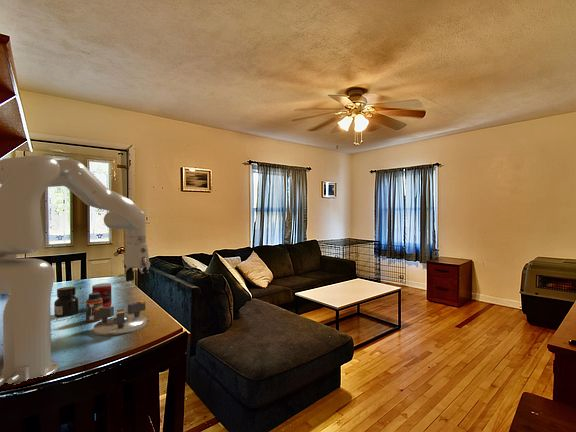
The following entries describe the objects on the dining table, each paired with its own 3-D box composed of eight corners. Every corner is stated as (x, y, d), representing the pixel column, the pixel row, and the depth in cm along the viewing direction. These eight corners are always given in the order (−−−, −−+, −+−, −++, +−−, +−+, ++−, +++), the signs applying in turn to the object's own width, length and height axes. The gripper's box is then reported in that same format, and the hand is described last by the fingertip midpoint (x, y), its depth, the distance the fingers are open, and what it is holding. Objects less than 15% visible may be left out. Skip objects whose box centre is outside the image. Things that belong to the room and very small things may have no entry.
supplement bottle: (94, 322, 120) (94, 295, 120) (82, 322, 121) (81, 295, 122) (106, 318, 126) (105, 291, 126) (94, 317, 127) (94, 291, 127)
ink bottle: (54, 314, 134) (54, 288, 134) (78, 310, 139) (77, 284, 140) (54, 319, 126) (54, 291, 126) (79, 314, 132) (78, 288, 132)
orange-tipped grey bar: (114, 320, 116) (113, 306, 116) (110, 322, 113) (109, 307, 113) (99, 320, 116) (98, 306, 116) (94, 322, 113) (94, 308, 113)
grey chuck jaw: (117, 324, 111) (116, 309, 111) (124, 323, 112) (124, 308, 112) (116, 329, 106) (116, 313, 106) (124, 328, 107) (124, 312, 107)
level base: (137, 333, 107) (137, 323, 107) (83, 338, 104) (83, 327, 104) (152, 317, 125) (152, 308, 125) (106, 321, 122) (106, 311, 122)
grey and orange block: (131, 319, 117) (131, 304, 117) (128, 318, 118) (127, 304, 118) (145, 314, 122) (145, 301, 122) (141, 313, 123) (141, 300, 123)
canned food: (94, 306, 145) (93, 284, 145) (112, 303, 149) (112, 282, 149) (91, 310, 138) (90, 287, 139) (110, 307, 142) (110, 285, 142)
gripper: (157, 240, 119) (158, 281, 119) (132, 239, 128) (133, 278, 128) (139, 241, 113) (140, 285, 113) (114, 240, 122) (116, 281, 122)
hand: (136, 281), depth 121 cm, fingers open, 9 cm apart
